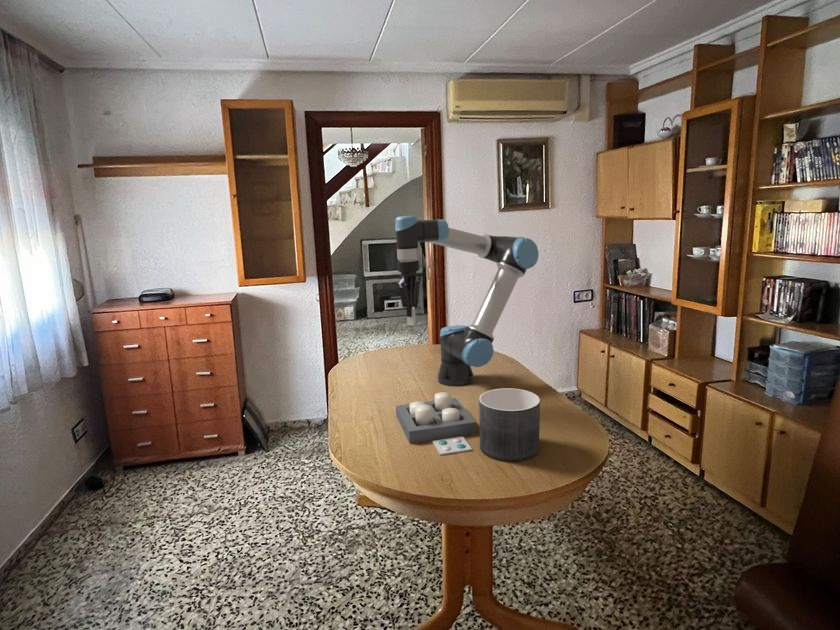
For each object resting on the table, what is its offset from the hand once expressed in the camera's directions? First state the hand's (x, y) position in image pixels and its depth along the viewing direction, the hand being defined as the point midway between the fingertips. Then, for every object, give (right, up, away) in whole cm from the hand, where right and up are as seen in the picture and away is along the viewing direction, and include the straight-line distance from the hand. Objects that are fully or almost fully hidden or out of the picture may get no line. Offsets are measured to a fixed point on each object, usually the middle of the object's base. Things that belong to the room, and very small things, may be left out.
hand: (411, 324), depth 189 cm
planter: (+30, -37, -32) cm, 57 cm away
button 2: (+5, -32, -19) cm, 38 cm away
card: (+13, -37, -30) cm, 49 cm away
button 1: (+3, -32, -10) cm, 34 cm away
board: (+8, -33, -14) cm, 37 cm away
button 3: (+11, -29, -9) cm, 33 cm away
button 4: (+13, -33, -17) cm, 40 cm away
